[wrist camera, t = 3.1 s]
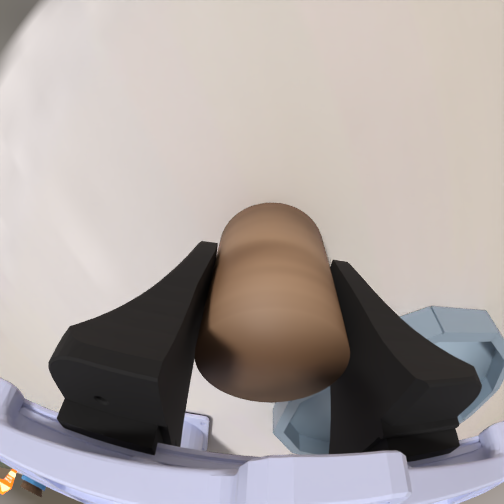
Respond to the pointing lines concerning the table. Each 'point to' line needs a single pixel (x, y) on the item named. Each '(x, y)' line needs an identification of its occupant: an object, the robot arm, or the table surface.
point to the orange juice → (7, 482)
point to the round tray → (436, 331)
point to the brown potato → (271, 310)
